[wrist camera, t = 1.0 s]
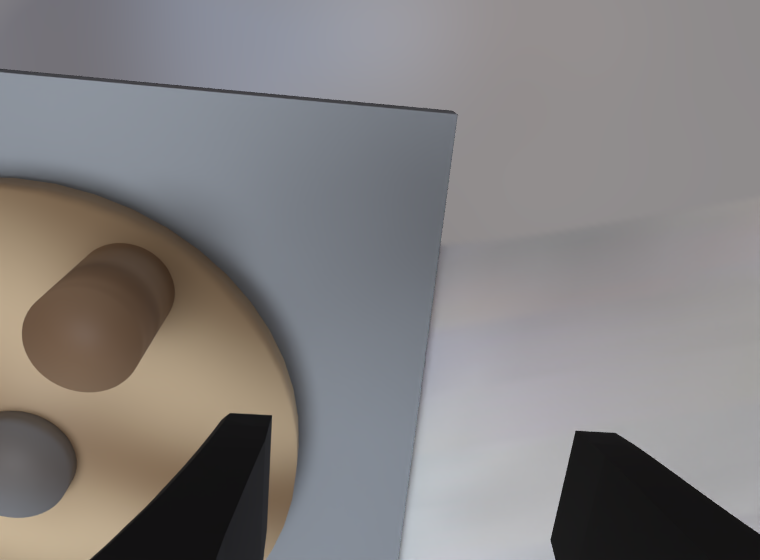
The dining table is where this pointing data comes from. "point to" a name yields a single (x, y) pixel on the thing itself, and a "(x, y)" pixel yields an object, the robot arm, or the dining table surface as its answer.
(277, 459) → the dial
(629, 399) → the dining table surface
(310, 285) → the grey flat square board
